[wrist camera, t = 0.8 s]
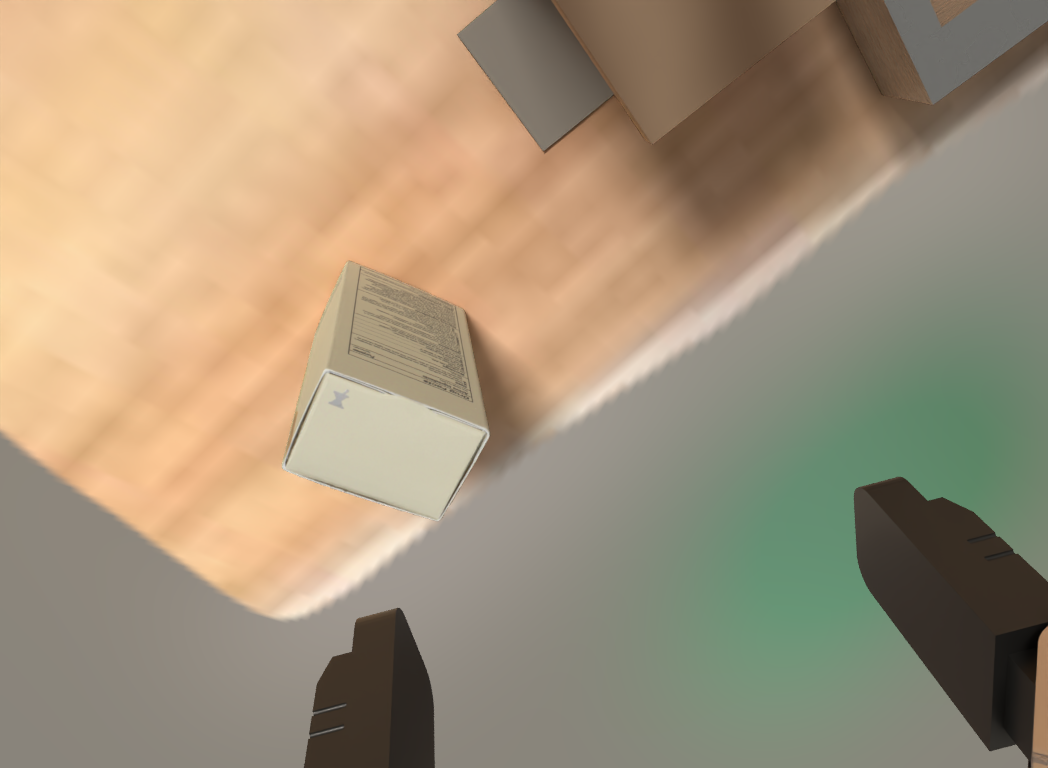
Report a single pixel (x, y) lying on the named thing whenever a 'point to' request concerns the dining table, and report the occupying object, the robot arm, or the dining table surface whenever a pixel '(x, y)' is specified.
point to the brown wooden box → (679, 48)
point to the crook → (936, 40)
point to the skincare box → (389, 397)
